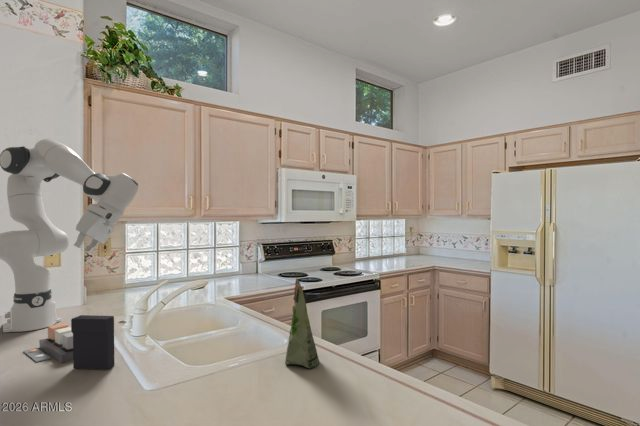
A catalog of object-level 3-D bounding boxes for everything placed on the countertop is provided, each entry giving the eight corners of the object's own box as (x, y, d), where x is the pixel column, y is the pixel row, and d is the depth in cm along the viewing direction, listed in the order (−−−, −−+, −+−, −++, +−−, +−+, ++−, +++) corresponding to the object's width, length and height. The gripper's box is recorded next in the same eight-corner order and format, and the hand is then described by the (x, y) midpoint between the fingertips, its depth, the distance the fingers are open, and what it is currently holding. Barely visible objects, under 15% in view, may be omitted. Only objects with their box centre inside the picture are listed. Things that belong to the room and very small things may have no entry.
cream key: (54, 341, 121) (54, 330, 121) (70, 337, 124) (70, 326, 124) (59, 344, 118) (59, 332, 118) (76, 340, 122) (75, 329, 122)
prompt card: (23, 352, 120) (23, 350, 120) (36, 348, 123) (36, 346, 123) (36, 362, 112) (36, 360, 112) (50, 358, 115) (50, 356, 115)
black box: (116, 364, 110) (115, 315, 110) (106, 371, 105) (106, 319, 105) (82, 363, 111) (81, 314, 111) (71, 369, 106) (70, 318, 106)
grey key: (62, 346, 116) (62, 334, 116) (78, 342, 120) (78, 330, 120) (67, 349, 114) (67, 337, 114) (84, 345, 117) (84, 333, 117)
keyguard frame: (39, 347, 124) (39, 340, 124) (68, 340, 131) (68, 333, 131) (61, 363, 111) (61, 354, 111) (93, 354, 118) (93, 346, 118)
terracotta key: (47, 337, 125) (47, 326, 125) (63, 333, 129) (63, 322, 129) (52, 340, 122) (52, 328, 122) (68, 336, 126) (68, 325, 126)
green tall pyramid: (302, 374, 102) (301, 285, 102) (273, 363, 110) (272, 280, 109) (327, 362, 110) (326, 279, 110) (298, 352, 118) (298, 275, 118)
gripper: (107, 217, 140) (85, 249, 136) (87, 203, 121) (60, 239, 116) (122, 225, 141) (101, 257, 136) (105, 211, 122) (79, 248, 117)
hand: (82, 249), depth 126 cm, fingers open, 8 cm apart
